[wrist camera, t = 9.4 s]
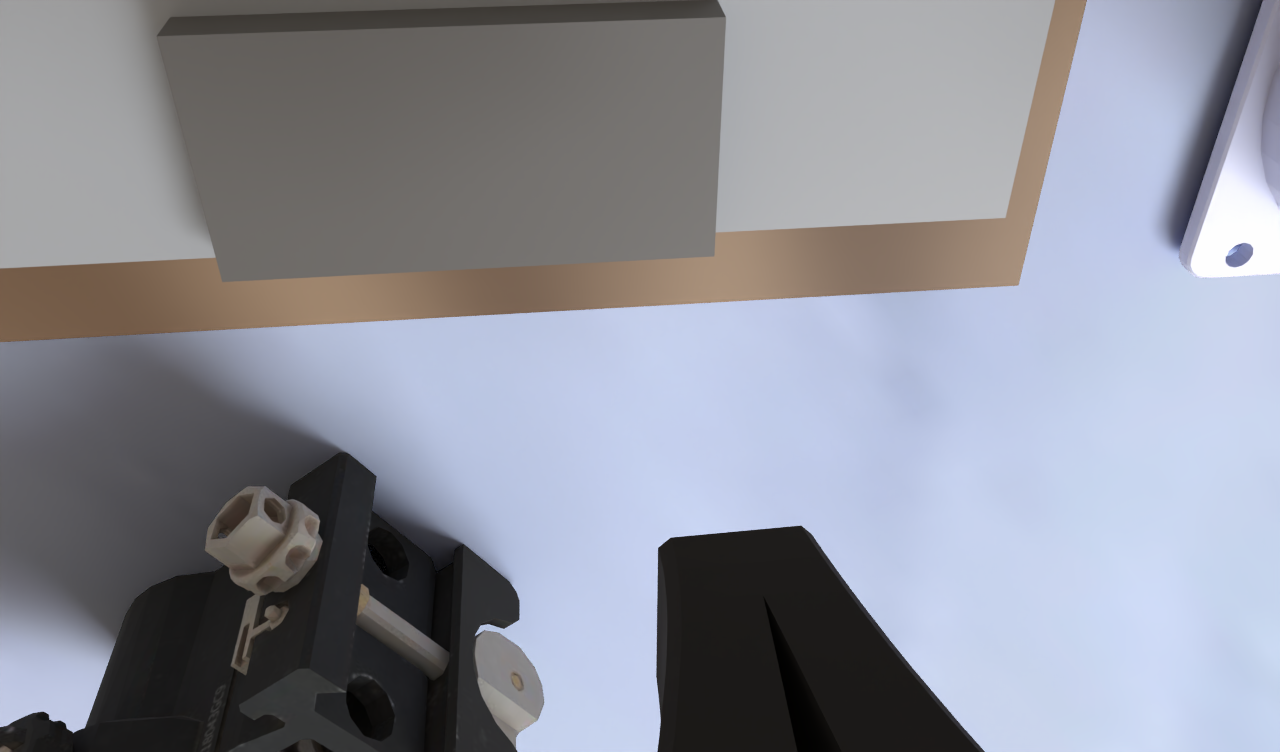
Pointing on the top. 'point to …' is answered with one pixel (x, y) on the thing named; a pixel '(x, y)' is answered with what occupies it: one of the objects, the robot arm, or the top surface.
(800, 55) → the level plate
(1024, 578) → the top surface
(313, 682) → the scope
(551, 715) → the top surface
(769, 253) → the wooden pallet
